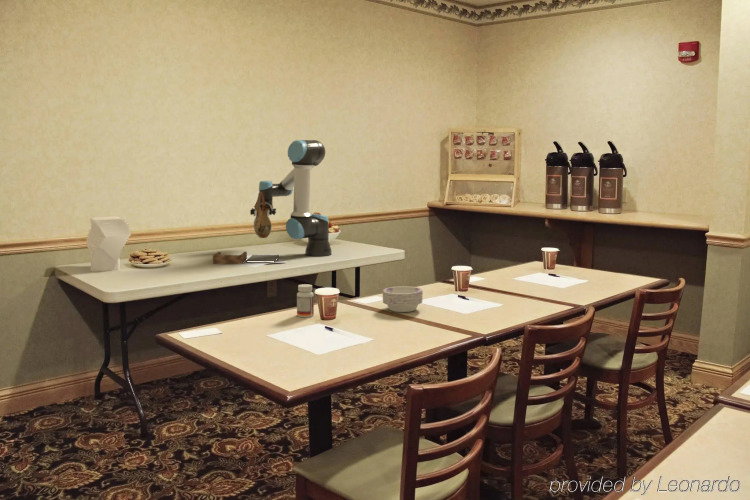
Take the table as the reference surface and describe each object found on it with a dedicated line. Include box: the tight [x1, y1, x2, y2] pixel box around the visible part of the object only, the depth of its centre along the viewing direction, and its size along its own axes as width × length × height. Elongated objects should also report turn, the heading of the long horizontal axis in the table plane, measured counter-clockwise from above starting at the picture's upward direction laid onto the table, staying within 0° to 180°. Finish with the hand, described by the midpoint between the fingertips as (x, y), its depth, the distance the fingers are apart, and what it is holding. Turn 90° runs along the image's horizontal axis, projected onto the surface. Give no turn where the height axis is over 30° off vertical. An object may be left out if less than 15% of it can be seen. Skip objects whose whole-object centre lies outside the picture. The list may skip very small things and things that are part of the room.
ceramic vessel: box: [253, 192, 272, 239], centre depth 367 cm, size 16×9×25 cm, turn 30°
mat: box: [246, 254, 280, 263], centre depth 371 cm, size 15×18×1 cm
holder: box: [212, 251, 248, 265], centre depth 363 cm, size 15×13×4 cm
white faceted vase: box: [85, 215, 132, 272], centre depth 342 cm, size 21×27×26 cm
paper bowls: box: [382, 285, 424, 313], centre depth 259 cm, size 15×15×8 cm
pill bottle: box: [296, 283, 315, 318], centre depth 248 cm, size 6×6×11 cm
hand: (261, 213), depth 362 cm, fingers closed on ceramic vessel, 6 cm apart
